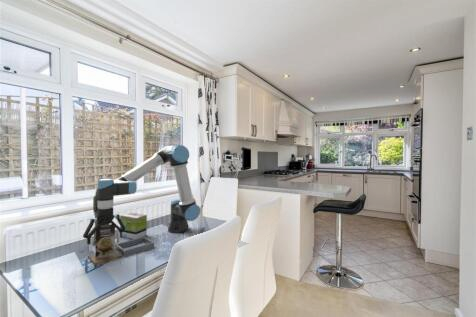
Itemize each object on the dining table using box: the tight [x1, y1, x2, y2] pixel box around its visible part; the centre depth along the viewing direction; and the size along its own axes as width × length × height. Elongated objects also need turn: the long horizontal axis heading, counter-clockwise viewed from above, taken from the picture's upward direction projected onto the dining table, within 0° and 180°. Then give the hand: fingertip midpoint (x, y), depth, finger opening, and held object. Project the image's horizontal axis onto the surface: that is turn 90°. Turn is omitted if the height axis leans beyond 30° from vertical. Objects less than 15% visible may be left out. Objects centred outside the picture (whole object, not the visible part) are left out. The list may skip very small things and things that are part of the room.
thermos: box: [92, 188, 98, 244], centre depth 145 cm, size 9×12×35 cm
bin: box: [115, 236, 155, 257], centre depth 134 cm, size 18×14×3 cm
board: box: [87, 250, 123, 267], centre depth 122 cm, size 13×13×1 cm
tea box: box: [119, 212, 148, 240], centre depth 155 cm, size 15×10×15 cm, turn 68°
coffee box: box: [94, 223, 116, 259], centre depth 122 cm, size 9×6×16 cm
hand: (105, 246), depth 122 cm, fingers open, 13 cm apart
